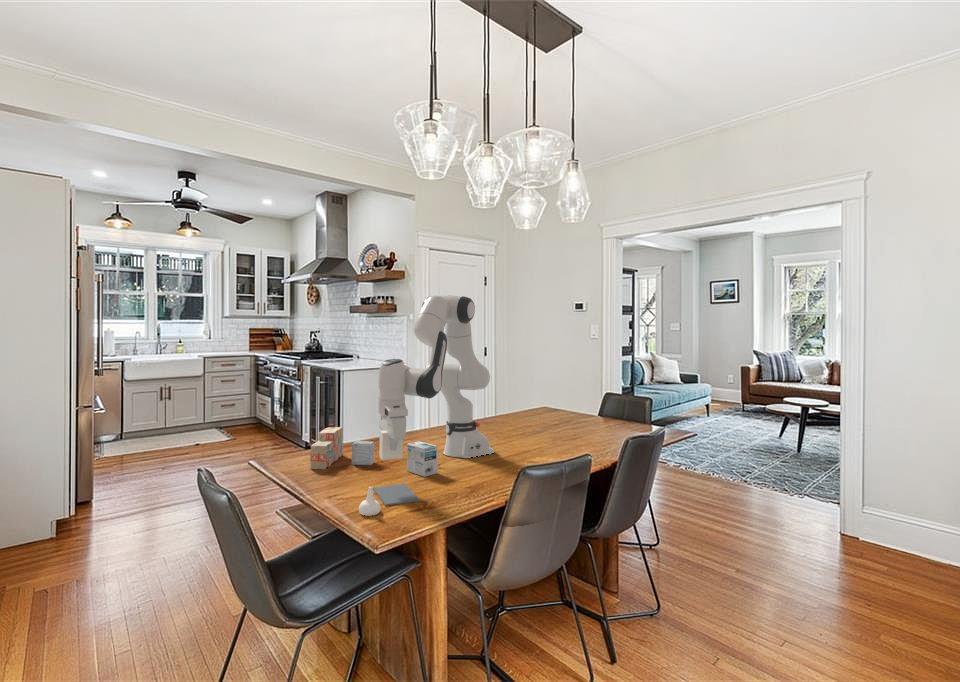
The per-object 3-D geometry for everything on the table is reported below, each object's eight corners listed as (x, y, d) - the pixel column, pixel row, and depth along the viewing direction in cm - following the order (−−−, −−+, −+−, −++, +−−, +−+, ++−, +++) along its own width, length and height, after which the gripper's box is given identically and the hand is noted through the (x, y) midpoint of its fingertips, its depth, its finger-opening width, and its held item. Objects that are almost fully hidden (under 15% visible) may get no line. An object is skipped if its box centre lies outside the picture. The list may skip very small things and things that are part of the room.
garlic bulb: (355, 517, 144) (354, 491, 143) (363, 507, 150) (363, 482, 149) (376, 519, 143) (375, 492, 142) (383, 509, 149) (382, 484, 148)
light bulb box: (438, 473, 186) (438, 445, 185) (424, 477, 181) (424, 448, 180) (419, 467, 193) (419, 440, 192) (406, 471, 188) (406, 443, 188)
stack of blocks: (326, 469, 189) (326, 438, 188) (310, 469, 189) (310, 437, 188) (342, 455, 210) (342, 426, 210) (328, 455, 210) (328, 426, 210)
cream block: (399, 455, 169) (399, 429, 169) (402, 458, 166) (403, 431, 165) (379, 457, 166) (379, 430, 166) (382, 460, 163) (382, 433, 162)
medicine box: (374, 462, 199) (374, 441, 199) (370, 465, 194) (371, 444, 194) (355, 462, 200) (355, 440, 199) (351, 465, 195) (351, 443, 195)
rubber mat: (404, 485, 171) (404, 483, 171) (419, 501, 156) (419, 499, 156) (372, 489, 167) (372, 487, 167) (385, 506, 151) (385, 504, 151)
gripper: (375, 403, 173) (374, 442, 174) (390, 413, 155) (389, 456, 155) (392, 402, 176) (392, 441, 177) (409, 411, 158) (409, 454, 158)
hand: (391, 448), depth 166 cm, fingers closed on cream block, 4 cm apart
